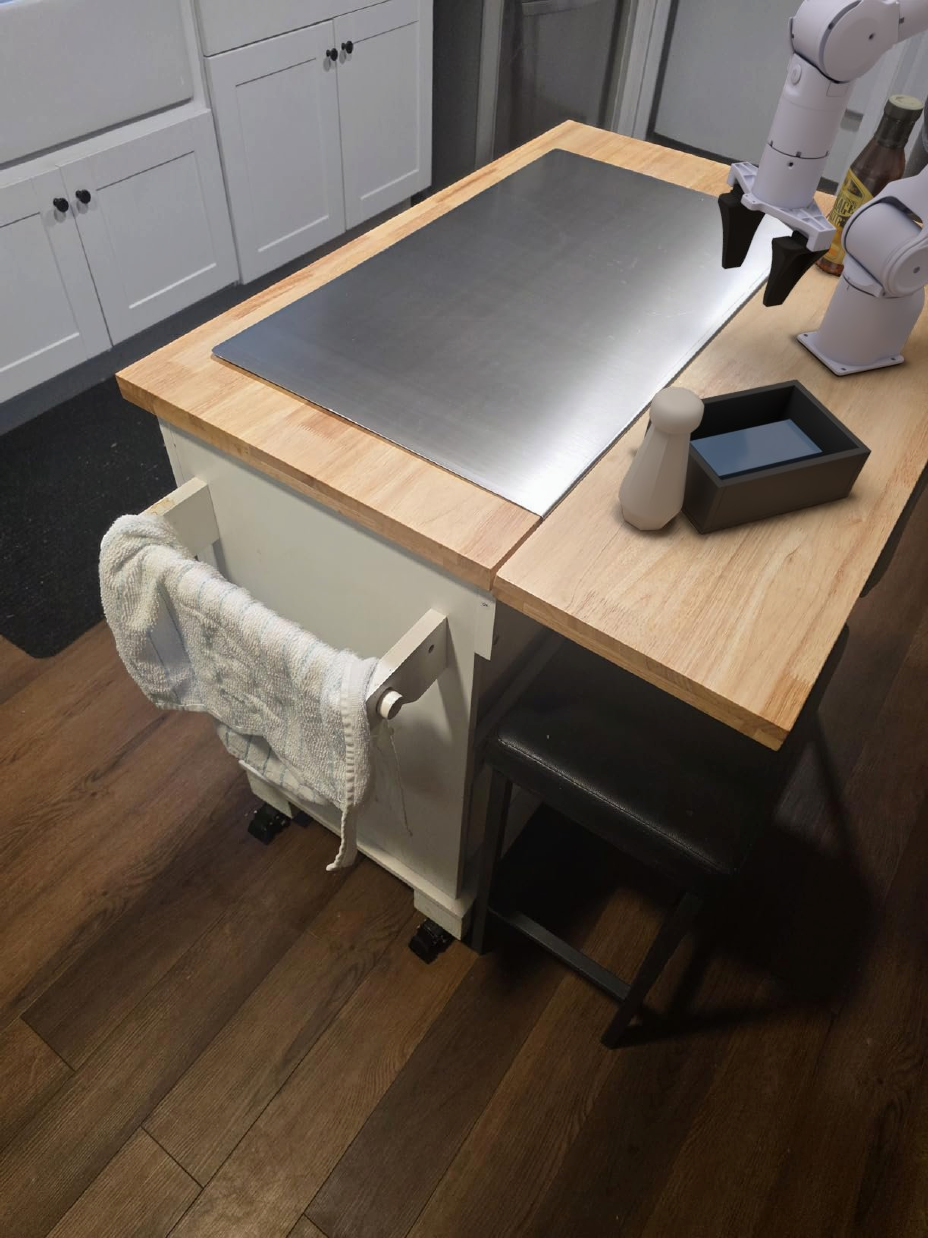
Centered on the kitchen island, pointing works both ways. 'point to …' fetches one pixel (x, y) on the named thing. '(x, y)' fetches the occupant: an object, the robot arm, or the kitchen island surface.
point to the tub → (776, 487)
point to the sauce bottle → (872, 170)
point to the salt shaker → (661, 460)
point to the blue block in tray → (756, 449)
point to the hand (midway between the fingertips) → (751, 284)
